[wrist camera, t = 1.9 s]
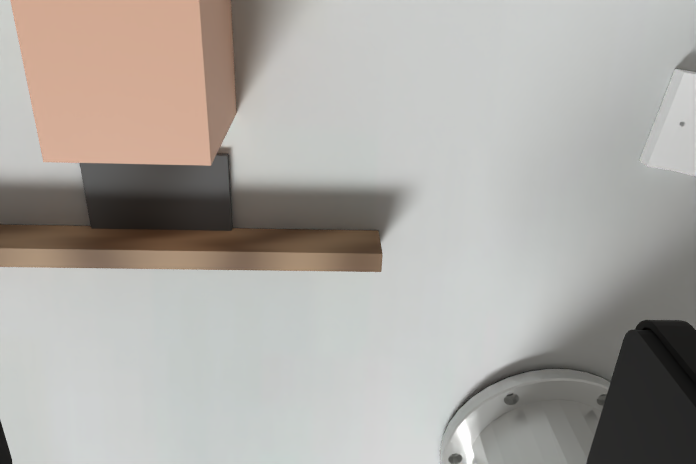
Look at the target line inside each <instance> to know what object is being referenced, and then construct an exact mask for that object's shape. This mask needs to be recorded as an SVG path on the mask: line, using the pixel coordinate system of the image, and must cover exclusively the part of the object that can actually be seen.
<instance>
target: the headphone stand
mask: <svg viewBox="0 0 696 464" xmlns="http://www.w3.org/2000/svg"><path fill="white" fill-rule="evenodd" d="M639 161H640V162H642V163H643V164H644V165H646V166H647V167H653V168H659V169H664V170H670V171H675V172H679V173H684V174H688V175H692V176H696V72H693V71H687V70H681V69H675V70H674V72H673V75H672V78H671V80H670V83H669V85H668V88H667V90H666V93H665V96H664V98H663V101H662V103H661V106H660V108H659V111H658V114H657V116H656V119H655V121H654V124H653V126H652V129H651V131H650V134H649V137H648V139H647V142H646V144H645V147H644V149H643V152H642V155H641V157H640V160H639Z"/></svg>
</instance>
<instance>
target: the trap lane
mask: <svg viewBox="0 0 696 464" xmlns="http://www.w3.org/2000/svg"><path fill="white" fill-rule="evenodd" d="M80 167H81V173H82V179H83V184H84V190H85V196H86V201H87V207H88V213H89V218H90V224H91V226H64V225H1V224H0V267H51V268H127V269H204V270H280V271H356V272H381V267H382V249H381V243H380V237H379V231H375V230H312V229H250V228H232V212H231V195H230V178H229V161H228V154H216V156H215V158H214V160H213V162H212V165H211V166H205V165H159V164H113V163H80Z"/></svg>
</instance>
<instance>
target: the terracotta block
mask: <svg viewBox="0 0 696 464" xmlns="http://www.w3.org/2000/svg"><path fill="white" fill-rule="evenodd" d="M11 5H12V10H13V15H14V20H15V25H16V30H17V34H18V39H19V44H20V49H21V54H22V59H23V64H24V69H25V74H26V79H27V84H28V88H29V93H30V98H31V103H32V108H33V113H34V118H35V123H36V128H37V133H38V137H39V142H40V147H41V152H42V157H43V162H68V163H113V164H159V165H205V166H211V165H212V162H213V160H214V158H215V156H216V154H217V152H218V150H219V148H220V146H221V144H222V142H223V140H224V138H225V136H226V134H227V132H228V130H229V128H230V126H231V124H232V121H233V119H234V117H235V115H236V93H235V72H234V52H233V32H232V11H231V0H11Z"/></svg>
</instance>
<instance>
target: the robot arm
mask: <svg viewBox="0 0 696 464" xmlns="http://www.w3.org/2000/svg"><path fill="white" fill-rule="evenodd" d="M0 464H12V458H11V455H10V451H9V448H8V445H7V441H6V438H5V434H4V431H3V428H2V424H1V421H0ZM440 464H696V330H695V329H694V328H693V327H692V326H691V325H690V324H689V323H687V322H685V321H677V320H644V321H641V322H640V323H639V324H638V325H637V327H636V329H635V330H630V331H628V332H627V333H626V335H625V337H624V340H623V343H622V347H621V350H620V353H619V357H618V360H617V363H616V366H615V370H614V373H613V376H612V380H611V383H610V382H609V381H607V380H605V379H604V378H601V377H598V376H595V375H593V374H590V373H587V372H582V371H576V370H570V369H544V370H537V371H530V372H525V373H522V374H519V375H515V376H512V377H508V378H506V379H504V380H501V381H499V382H497V383H495V384H493V385H491V386H488V387H487V388H485V389H484V390H482V391H481V392H479V393H478V394H476V395H475V396H473V397H472V398H471V399H470V400H469V401H468V402H467V403H465V404H464V405H463V406H462V407H461V408H460V409H459V410H458V412H457V413H456V414H455V416H454V417H453V418H452V420H451V421H450V422H449V424H448V426H447V428H446V430H445V433H444V435H443V437H442V442H441V447H440Z"/></svg>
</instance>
